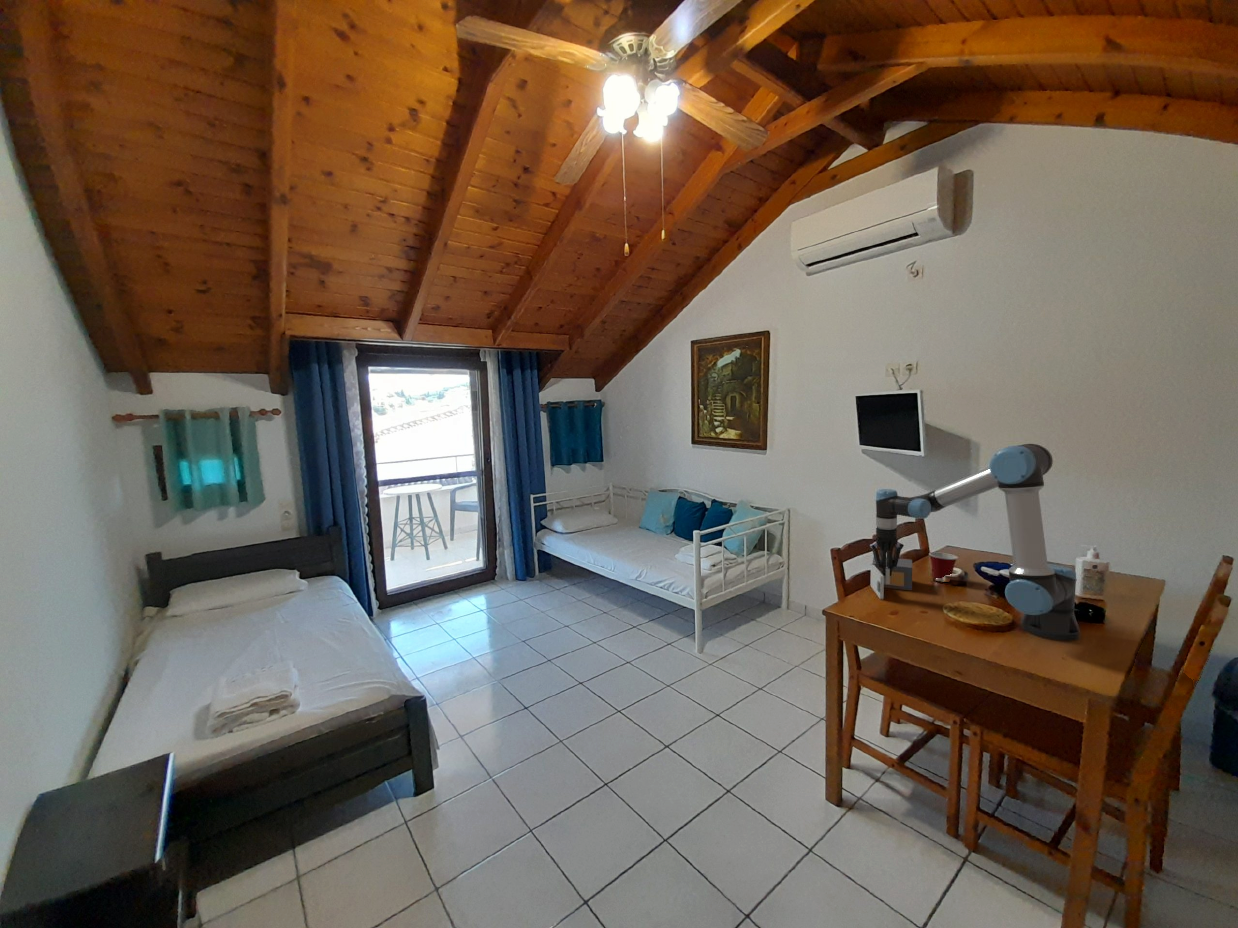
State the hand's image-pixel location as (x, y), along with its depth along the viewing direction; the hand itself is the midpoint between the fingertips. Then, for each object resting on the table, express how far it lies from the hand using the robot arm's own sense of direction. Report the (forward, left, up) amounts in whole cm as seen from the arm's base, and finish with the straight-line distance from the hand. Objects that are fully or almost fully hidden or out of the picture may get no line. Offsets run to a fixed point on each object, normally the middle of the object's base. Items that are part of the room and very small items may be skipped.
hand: (886, 583), depth 204 cm
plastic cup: (+28, -21, -6) cm, 36 cm away
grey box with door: (+16, -2, -6) cm, 17 cm away
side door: (+2, +4, -5) cm, 7 cm away
